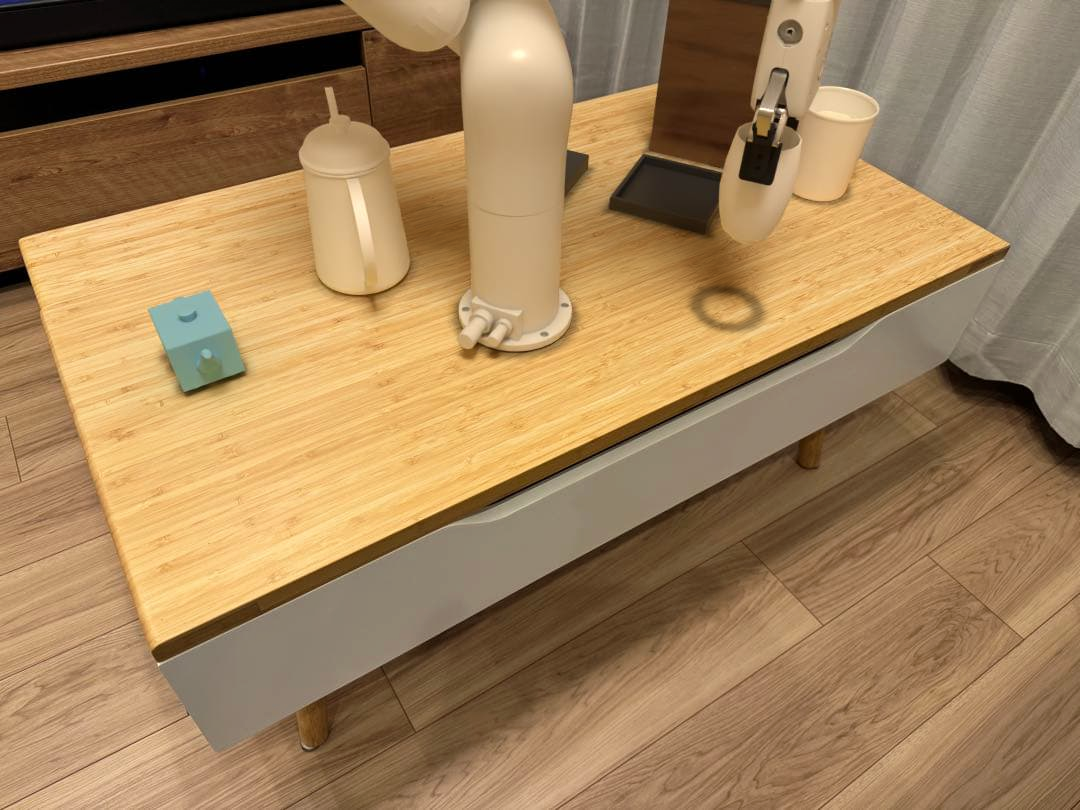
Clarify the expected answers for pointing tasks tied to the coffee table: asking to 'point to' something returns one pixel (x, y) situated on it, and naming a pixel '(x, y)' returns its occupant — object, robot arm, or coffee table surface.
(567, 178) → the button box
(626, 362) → the coffee table surface
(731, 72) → the column
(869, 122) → the cream open tapered cylinder
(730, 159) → the cream vase
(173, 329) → the teal peg block
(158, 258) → the coffee table surface
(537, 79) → the robot arm
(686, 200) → the drip pan
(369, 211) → the coffeepot
